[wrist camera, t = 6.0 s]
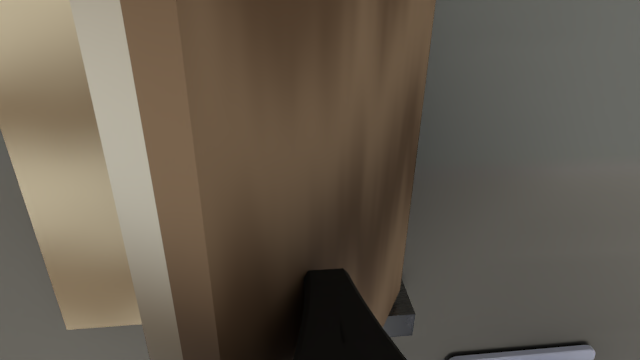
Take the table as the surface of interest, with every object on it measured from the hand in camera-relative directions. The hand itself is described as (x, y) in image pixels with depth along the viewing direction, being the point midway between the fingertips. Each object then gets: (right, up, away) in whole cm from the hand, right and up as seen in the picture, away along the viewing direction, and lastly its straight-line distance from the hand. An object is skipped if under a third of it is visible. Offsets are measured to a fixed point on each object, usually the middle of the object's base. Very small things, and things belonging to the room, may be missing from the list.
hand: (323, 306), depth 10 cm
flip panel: (+3, +4, +7) cm, 9 cm away
